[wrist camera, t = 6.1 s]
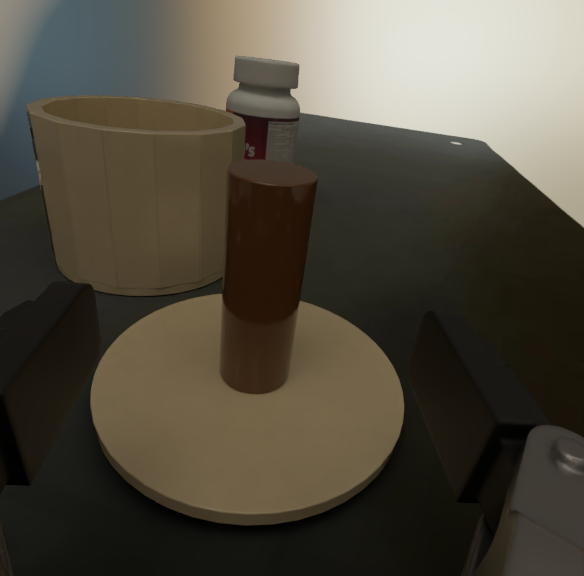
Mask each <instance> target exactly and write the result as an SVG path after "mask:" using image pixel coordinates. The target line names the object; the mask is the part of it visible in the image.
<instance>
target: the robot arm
mask: <svg viewBox="0 0 584 576" xmlns="http://www.w3.org/2000/svg"><path fill="white" fill-rule="evenodd" d="M100 346H101V337H100V329H99V322H98V314H97V307H96V300H95V293H94V289H93V287H92V285H91V284H89V283H76V282H64V281H54V282H52V283H51V284H50V285H49V286H48V287H47V288H46V290H45V291H44V292H43V293H42V294H41V295H40V296H39V297H38V298H37V299H36V301H29V300H27V301H25V302H23V303H22V304H20V305H18V306H16V307H14V308H12V309H11V310H9V311H7V312H5V313H4V314H3V315H2V316H1V317H0V493H1V492H2V490H3V488H4V487H5V485H26V486H30V484H31V482H32V481H33V479H34V477H35V475H36V473H37V471H38V470H39V468H40V466H41V464H42V462H43V460H44V459H45V457H46V455H47V453H48V451H49V449H50V448H51V446H52V444H53V442H54V440H55V438H56V437H57V435H58V433H59V431H60V429H61V427H62V426H63V424H64V422H65V420H66V418H67V416H68V414H69V413H70V411H71V409H72V407H73V405H74V403H75V402H76V400H77V398H78V396H79V394H80V392H81V391H82V389H83V387H84V385H85V383H86V381H87V380H88V378H89V376H90V374H91V372H92V370H93V369H94V367H95V365H96V363H97V360H98V357H99V353H100ZM408 378H409V383H410V386H411V388H412V391H413V393H414V396H415V398H416V401H417V403H418V406H419V408H420V411H421V413H422V416H423V418H424V421H425V423H426V426H427V428H428V431H429V433H430V436H431V438H432V441H433V443H434V446H435V448H436V451H437V453H438V456H439V458H440V461H441V463H442V466H443V468H444V471H445V473H446V476H447V478H448V481H449V483H450V486H451V488H452V491H453V493H454V496H455V498H456V501H457V502H460V503H479V505H480V507H481V509H482V511H483V514H482V516H481V517H480V519H479V521H478V524H477V527H476V530H475V533H474V536H473V540H472V543H471V546H470V549H469V552H468V555H467V558H466V562H465V565H464V568H463V571H462V574H461V576H584V438H583V437H581V436H579V435H577V434H576V433H574V432H571V431H569V430H567V429H564V428H561V427H557V426H553V425H552V424H551V422H550V421H549V420H548V418H547V417H546V416H545V414H544V413H543V411H542V410H541V409H540V407H539V406H538V405H537V403H536V402H535V400H534V399H533V398H532V396H531V395H530V394H529V392H528V391H527V389H526V388H525V387H524V385H523V384H522V383H521V381H520V380H517V376H516V374H515V373H514V372H513V370H512V369H511V367H508V363H507V362H506V361H505V359H504V358H503V356H502V355H501V354H500V352H499V351H498V350H497V348H495V347H494V346H493V345H492V344H490V343H489V342H488V341H486V340H485V339H484V338H483V337H481V336H480V335H476V334H474V333H473V331H472V330H471V328H470V327H469V325H468V324H467V322H466V321H465V319H464V318H463V317H462V315H460V314H458V313H448V312H435V311H428V312H427V313H426V314H425V315H424V317H423V320H422V322H421V325H420V329H419V332H418V335H417V338H416V341H415V344H414V347H413V350H412V353H411V356H410V359H409V364H408ZM0 576H15V574H14V570H13V566H12V562H11V558H10V554H9V550H8V546H7V542H6V538H5V534H4V530H3V526H2V522H1V518H0Z"/></svg>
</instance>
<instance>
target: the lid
mask: <svg viewBox="0 0 584 576" xmlns="http://www.w3.org/2000/svg"><path fill="white" fill-rule="evenodd" d="M317 181H318V178H317V175H316V174H315V173H314V172H313V171H311V170H309V169H307V168H305V167H302V166H299V165H296V164H292V163H287V162H281V161H274V160H260V159H252V160H242V161H237V162H234V163H231V164H230V165H229V166H228V167H227V178H226V204H225V230H224V256H223V283H222V294H214V295H208V296H202V297H197V298H192V299H188V300H184V301H181V302H178V303H175V304H172V305H169V306H167V307H164V308H162V309H160V310H157V311H155V312H153V313H151V314H150V315H148V316H146V317H144V318H142V319H141V320H139V321H138V322H136V323H135V324H133V325H132V326H131V327H129V328H128V329H127V330H126V331H125V332H123V333H122V334H121V335H120V336H119V337H118V338H117V339H116V340H115V341H114V342H113V344H112V345H111V346H110V347H109V348H108V350H107V351H106V353H105V354H104V356H103V357H102V359H101V360H100V363H99V365H98V367H97V370H96V372H95V374H94V378H93V382H92V387H91V396H90V408H91V414H92V419H93V425H94V430H95V434H96V437H97V439H98V442H99V444H100V447H101V449H102V451H103V452H104V454H105V456H106V457H107V459H108V460H109V462H110V463H111V465H112V466H113V467H114V468H115V470H116V471H117V472H118V473H119V474H120V475H121V476H122V477H123V478H124V479H125V480H126V481H127V482H128V483H129V484H131V485H132V486H133V487H134V488H136V489H137V490H138V491H140V492H141V493H142V494H144V495H145V496H146V497H148V498H150V499H152V500H154V501H156V502H157V503H159V504H161V505H163V506H165V507H167V508H169V509H172V510H174V511H177V512H180V513H182V514H185V515H188V516H190V517H194V518H198V519H203V520H207V521H211V522H216V523H223V524H234V525H245V526H247V525H273V524H279V523H285V522H290V521H296V520H301V519H304V518H307V517H310V516H313V515H317V514H320V513H323V512H325V511H327V510H329V509H331V508H334V507H336V506H338V505H340V504H342V503H344V502H346V501H347V500H349V499H350V498H351V497H353V496H354V495H356V494H357V493H359V492H360V491H362V490H363V489H364V488H365V487H366V486H367V485H368V484H370V483H371V482H372V481H373V480H374V479H375V478H376V477H377V476H378V475H379V473H380V472H381V471H382V469H383V468H384V466H385V465H386V464H387V462H388V461H389V459H390V457H391V455H392V453H393V451H394V449H395V447H396V444H397V441H398V439H399V435H400V432H401V428H402V425H403V418H404V399H403V392H402V388H401V385H400V381H399V378H398V376H397V374H396V372H395V369H394V367H393V365H392V364H391V362H390V361H389V359H388V358H387V356H386V355H385V354H384V352H383V351H382V350H381V349H380V348H379V346H378V345H377V344H376V343H375V342H374V341H373V340H372V339H371V338H369V337H368V336H367V335H366V334H365V333H364V332H362V331H361V330H360V329H358V328H357V327H356V326H354V325H353V324H351V323H350V322H348V321H346V320H345V319H343V318H341V317H339V316H337V315H336V314H334V313H332V312H330V311H327V310H325V309H322V308H320V307H318V306H315V305H312V304H309V303H306V302H303V301H300V297H301V290H302V283H303V276H304V269H305V262H306V256H307V249H308V242H309V235H310V228H311V222H312V215H313V208H314V201H315V194H316V187H317Z"/></svg>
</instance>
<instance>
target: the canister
mask: <svg viewBox="0 0 584 576" xmlns="http://www.w3.org/2000/svg"><path fill="white" fill-rule="evenodd" d="M26 111H27V116H28V121H29V126H30V132H31V137H32V143H33V148H34V154H35V159H36V165H37V170H38V176H39V181H40V187H41V192H42V197H43V203H44V208H45V214H46V219H47V225H48V230H49V235H50V241H51V246H52V250H53V254H54V257H55V262H56V265H57V267H58V269H59V271H60V272H61V273H62V274H63V275H64V276H65V277H67V278H68V279H69V280H71V281H73V282H76V283H89V284H91V285H92V287H93V289H94V290H96V291H100V292H105V293H110V294H117V295H126V296H157V295H168V294H175V293H181V292H185V291H190V290H194V289H197V288H200V287H203V286H206V285H208V284H210V283H213V282H215V281H217V280H218V279H220V278H222V277H223V256H224V230H225V204H226V178H227V167H228V166H229V165H230V164H231V163H234V162H237V161H242V160H244V146H245V129H246V125H245V123H244V120H243V118H241V117H239V116H237V115H234V114H232V113H230V112H227V111H224V110H219V109H215V108H211V107H207V106H202V105H197V104H191V103H185V102H178V101H171V100H163V99H153V98H142V97H127V96H106V95H89V96H61V97H52V98H44V99H39V100H37V101H34V102H32V103H30V104H27V105H26Z"/></svg>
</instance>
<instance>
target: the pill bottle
mask: <svg viewBox="0 0 584 576" xmlns="http://www.w3.org/2000/svg"><path fill="white" fill-rule="evenodd" d="M298 75H299V64H297V63H291V62H285V61H278V60H271V59H262V58H254V57H246V56H236V57H235V68H234V81H237V82H240V84H239V88H238V89H236V90H234V91H232V92H231V93H230V95H229V96H228V98H227V103H226V111H227V112H230V113H232V114H234V115H237V116H239V117H241V118H243V120H244V123H245V125H246V129H245V146H244V160H252V159H260V160H274V161H281V162H287V163H292V164H294V157H295V148H296V140H297V132H298V123H299V117H300V115H299V114H300V107H299V104H298V102H297V100H296V99H295V98H294V97H292V96H291V94H290V89H296V88H297V87H298Z"/></svg>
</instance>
